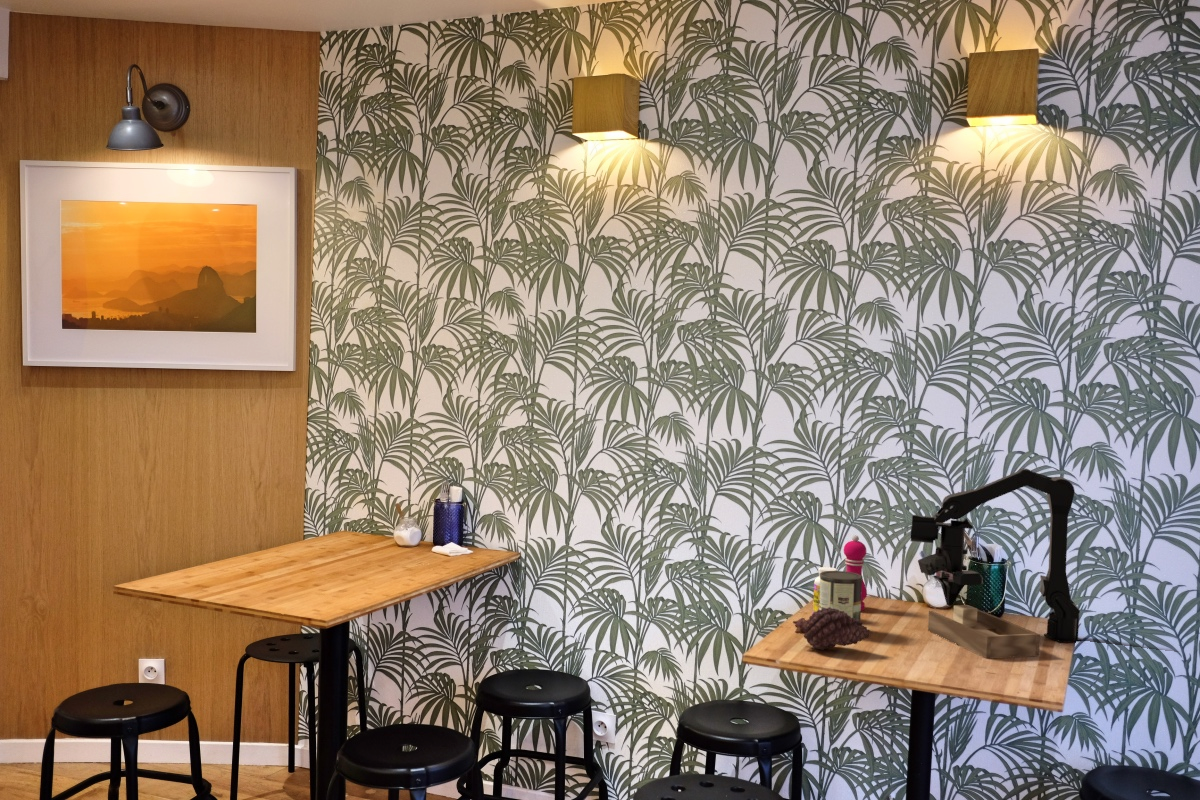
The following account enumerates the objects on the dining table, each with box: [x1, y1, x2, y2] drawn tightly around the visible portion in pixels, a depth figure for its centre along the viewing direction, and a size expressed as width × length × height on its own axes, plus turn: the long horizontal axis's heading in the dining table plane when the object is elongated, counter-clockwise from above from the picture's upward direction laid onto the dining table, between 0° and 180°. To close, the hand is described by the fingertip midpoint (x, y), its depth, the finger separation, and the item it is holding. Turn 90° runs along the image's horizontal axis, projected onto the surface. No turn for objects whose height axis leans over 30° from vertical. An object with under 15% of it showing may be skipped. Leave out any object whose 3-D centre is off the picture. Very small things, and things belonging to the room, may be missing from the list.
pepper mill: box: [843, 534, 868, 612], centre depth 284 cm, size 7×7×20 cm
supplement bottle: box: [812, 566, 838, 614], centre depth 274 cm, size 7×7×13 cm
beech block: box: [952, 604, 979, 627], centre depth 260 cm, size 4×4×4 cm
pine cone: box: [792, 607, 871, 652], centre depth 243 cm, size 18×10×10 cm, turn 72°
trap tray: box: [927, 609, 1041, 659], centre depth 254 cm, size 14×24×5 cm, turn 15°
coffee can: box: [819, 570, 863, 621], centre depth 260 cm, size 10×10×14 cm
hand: (949, 605), depth 267 cm, fingers closed
